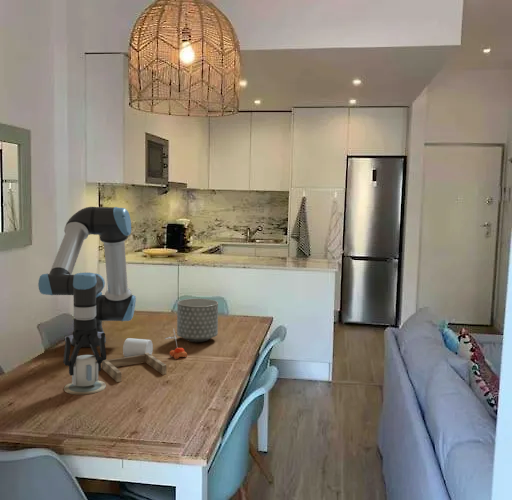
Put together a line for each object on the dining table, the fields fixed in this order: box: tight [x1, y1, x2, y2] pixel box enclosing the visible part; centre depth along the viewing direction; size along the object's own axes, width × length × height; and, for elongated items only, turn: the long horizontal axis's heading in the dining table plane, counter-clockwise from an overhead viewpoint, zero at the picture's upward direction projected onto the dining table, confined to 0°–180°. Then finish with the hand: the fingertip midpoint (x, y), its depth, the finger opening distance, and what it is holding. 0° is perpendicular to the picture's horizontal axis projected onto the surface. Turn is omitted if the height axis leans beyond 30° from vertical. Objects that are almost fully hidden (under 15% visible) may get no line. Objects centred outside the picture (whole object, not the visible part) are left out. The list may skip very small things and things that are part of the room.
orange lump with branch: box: [164, 328, 188, 360], centre depth 226 cm, size 6×10×12 cm, turn 88°
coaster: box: [63, 379, 107, 396], centre depth 188 cm, size 14×14×1 cm
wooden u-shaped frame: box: [101, 353, 167, 383], centre depth 207 cm, size 18×19×4 cm
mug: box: [122, 337, 154, 357], centre depth 226 cm, size 12×10×8 cm
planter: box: [176, 298, 219, 343], centre depth 254 cm, size 19×19×18 cm
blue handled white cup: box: [74, 354, 96, 386], centre depth 187 cm, size 7×9×9 cm
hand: (85, 381), depth 188 cm, fingers closed on blue handled white cup, 7 cm apart
